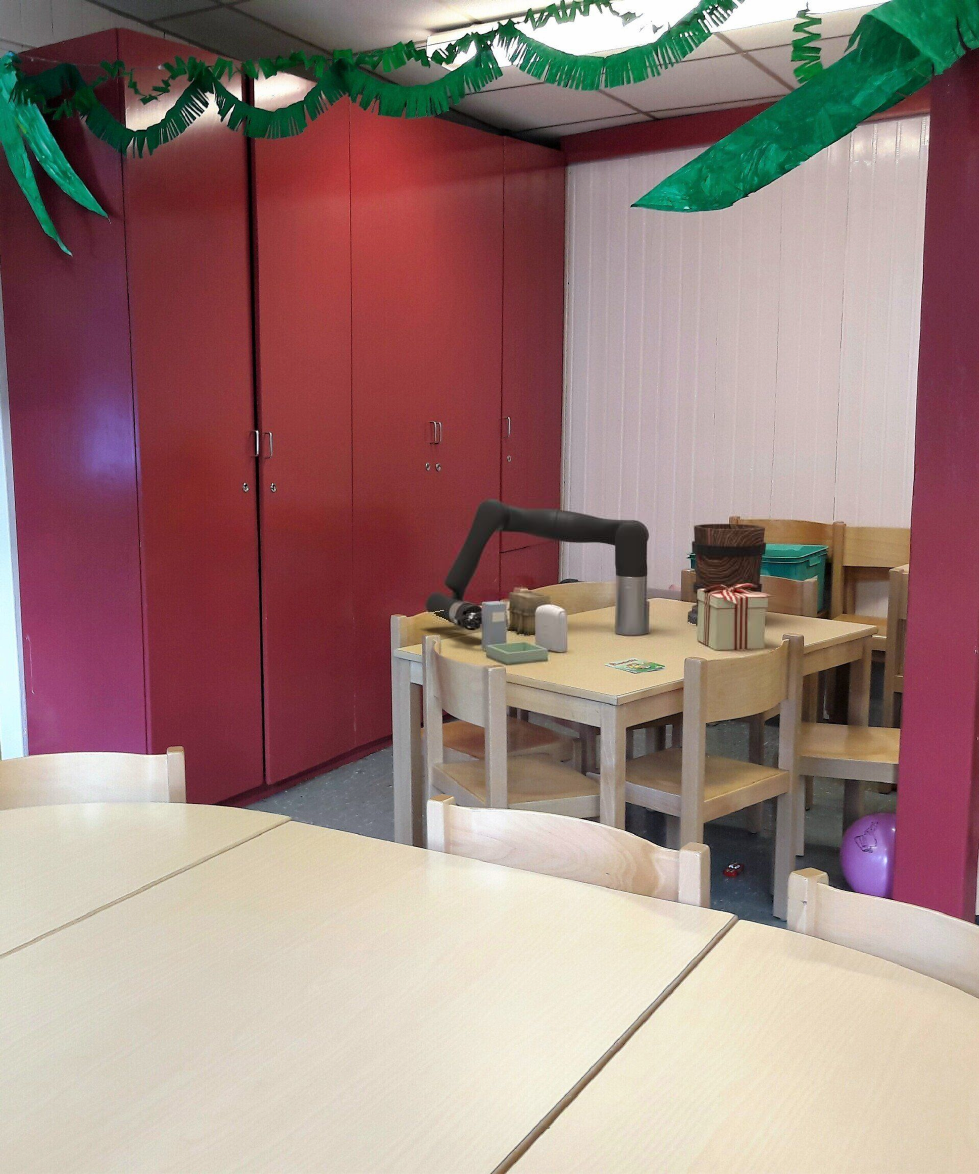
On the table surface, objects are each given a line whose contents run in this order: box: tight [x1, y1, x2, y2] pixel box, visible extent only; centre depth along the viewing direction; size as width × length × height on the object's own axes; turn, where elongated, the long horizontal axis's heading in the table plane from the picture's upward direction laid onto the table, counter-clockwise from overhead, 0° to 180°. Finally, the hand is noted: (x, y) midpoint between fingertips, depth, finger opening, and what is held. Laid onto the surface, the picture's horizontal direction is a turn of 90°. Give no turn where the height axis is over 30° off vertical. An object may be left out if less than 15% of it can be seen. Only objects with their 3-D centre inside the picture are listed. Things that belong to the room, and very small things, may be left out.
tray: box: [485, 640, 549, 666], centre depth 284 cm, size 12×12×3 cm
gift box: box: [696, 583, 775, 651], centre depth 299 cm, size 17×18×17 cm
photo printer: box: [534, 604, 568, 653], centre depth 295 cm, size 10×4×12 cm, turn 39°
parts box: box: [481, 600, 507, 651], centre depth 295 cm, size 5×5×13 cm
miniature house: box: [506, 590, 562, 637], centre depth 322 cm, size 15×14×11 cm
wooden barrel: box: [687, 523, 767, 625], centre depth 337 cm, size 24×30×30 cm
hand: (492, 624), depth 296 cm, fingers open, 8 cm apart
